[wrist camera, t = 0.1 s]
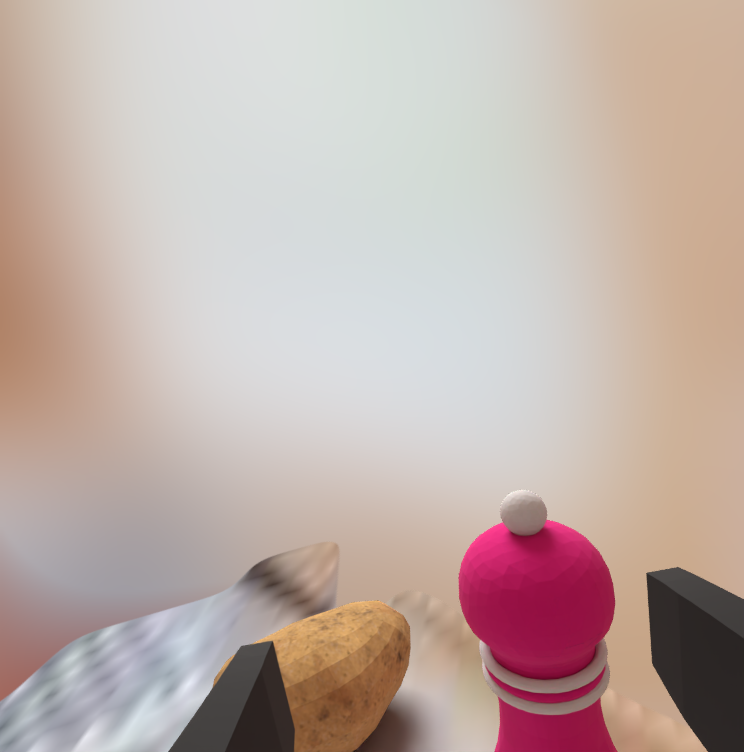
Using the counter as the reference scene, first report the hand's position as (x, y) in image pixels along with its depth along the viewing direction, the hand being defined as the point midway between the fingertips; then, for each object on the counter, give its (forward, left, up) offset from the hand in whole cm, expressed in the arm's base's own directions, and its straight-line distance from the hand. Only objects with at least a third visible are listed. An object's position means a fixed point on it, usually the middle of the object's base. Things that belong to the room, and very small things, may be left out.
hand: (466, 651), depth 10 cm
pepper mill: (+11, -4, -22) cm, 25 cm away
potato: (+23, +8, -22) cm, 33 cm away
